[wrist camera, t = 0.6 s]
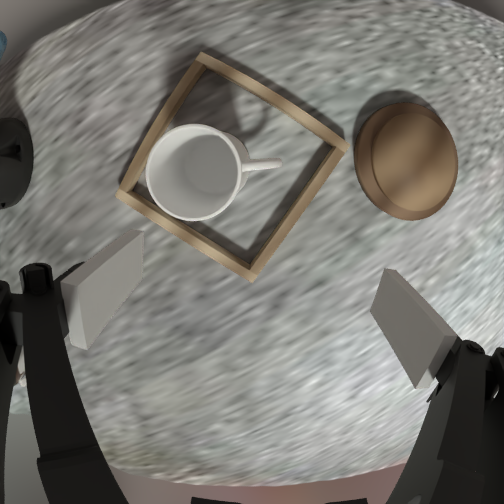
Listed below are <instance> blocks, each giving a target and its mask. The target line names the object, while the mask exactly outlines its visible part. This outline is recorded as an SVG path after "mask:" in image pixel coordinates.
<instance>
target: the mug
mask: <svg viewBox="0 0 504 504" xmlns="http://www.w3.org/2000/svg"><path fill="white" fill-rule="evenodd" d="M281 166H282V160H281V159H280V158H267V159H249V155H248V152H247V150H246V148H245V147H244V145H243V144H242V143H241V142H240V141H239V140H238V139H237V138H236V137H234V136H233V135H231V134H229V133H226V132H222V131H219V130H217V129H215V128H213V127H210V126H207V125H202V124H186V125H182V126H179V127H176V128H174V129H172V130H170V131H168V132H167V133H165V134H164V135H163V136H162V137H161V138H160V139H159V140H158V141H157V142H156V144H155V145H154V146H153V148H152V150H151V152H150V154H149V157H148V160H147V165H146V181H147V186H148V189H149V192H150V194H151V196H152V198H153V199H154V201H155V202H156V203H157V205H158V206H159V207H160V208H161V209H162V210H164V211H165V212H166V213H168V214H169V215H171V216H173V217H175V218H178V219H181V220H186V221H200V220H205V219H208V218H211V217H213V216H215V215H217V214H219V213H220V212H222V211H223V210H224V209H225V208H226V207H227V206H228V205H229V204H230V203H231V202H232V201H233V199H234V198H235V196H236V194H237V193H238V192H239V191H240V190H241V189H242V187H243V186H244V185H245V183H246V181H247V179H248V176H249V172H250V171H251V170H260V169H269V168H277V167H281Z"/></svg>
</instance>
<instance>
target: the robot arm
mask: <svg viewBox="0 0 504 504" xmlns="http://www.w3.org/2000/svg"><path fill="white" fill-rule="evenodd" d="M6 45H7V39H6V36H5V34H4V33H3V32H2V31H0V60H1V58H2V55H3V53H4V51H5V48H6ZM32 168H33V149H32V143H31V138H30V135H29V133H28V130H27V129H26V127H25V125H24V124H23V123H22V122H21V121H19V120H18V119H15V118H1V119H0V209H5V208H8V207H11V206H14V205H15V204H17V203H18V202H19V201H20V200H21V199H22V197H23V196H24V194H25V193H26V191H27V188H28V186H29V183H30V179H31V174H32ZM143 240H144V231H140V230H133V229H130V230H129V231H128V232H126V233H125V234H123V235H122V236H120V237H119V238H118V239H116V240H115V241H113V242H112V243H111V244H109V245H108V246H106V247H105V248H104V249H102V250H101V251H100V252H98V253H97V254H96V255H94V256H93V257H92V258H90V259H89V260H88V261H86V262H81V263H79V264H76V265H74V266H72V267H71V268H70V269H68V271H66V272H64V273H63V275H60V276H59V277H58V278H57V279H55V280H54V281H53V276H52V268H51V266H50V265H48V264H46V263H32V264H29V265H26V266H24V267H23V268H21V269H20V271H19V275H20V281H21V286H22V292H23V294H14V293H11V292H10V287H9V284H8V283H7V282H6V281H1V280H0V504H4V461H5V444H6V433H7V424H8V416H9V409H10V402H11V396H12V391H13V386H14V381H15V376H16V371H17V367H18V362H19V358H20V354H21V350H22V347H23V351H24V364H25V374H26V383H27V391H28V397H29V404H30V410H31V415H32V420H33V425H34V429H35V434H36V438H37V443H38V447H39V451H40V458H37V466H38V471H39V474H40V477H41V481H42V484H43V487H44V490H45V493H46V495H47V498H48V501H49V504H129V503H128V501H127V500H126V498H125V496H124V495H123V493H122V491H121V489H120V487H119V485H118V483H117V482H116V480H115V478H114V476H113V474H112V472H111V470H110V468H109V466H108V464H107V462H106V460H105V458H104V455H103V453H102V451H101V449H100V447H99V444H98V442H97V440H96V437H95V435H94V432H93V430H92V428H91V425H90V422H89V420H88V417H87V415H86V412H85V409H84V406H83V404H82V401H81V398H80V395H79V392H78V389H77V385H76V382H75V379H74V376H73V372H72V369H71V365H70V362H69V358H68V354H67V350H66V346H65V342H64V338H65V337H66V335H67V334H68V333H69V336H70V340H71V345H73V346H76V347H80V348H83V349H86V350H88V349H89V347H90V346H91V345H92V343H93V342H94V341H95V339H96V338H97V336H98V335H99V334H100V332H101V331H102V330H103V328H104V327H105V326H106V325H107V323H108V322H109V321H110V319H111V318H112V317H113V315H114V314H115V313H116V311H117V310H118V309H119V308H120V306H121V305H122V304H123V303H124V301H125V300H126V299H127V297H128V296H129V295H130V294H131V292H132V291H133V290H134V289H135V288H136V286H137V285H138V284H139V283H140V281H141V280H142V279H143ZM370 312H371V314H372V315H373V317H374V319H375V320H376V322H377V324H378V325H379V327H380V328H381V330H382V332H383V333H384V335H385V337H386V338H387V340H388V342H389V344H390V345H391V347H392V349H393V350H394V352H395V354H396V355H397V357H398V359H399V361H400V362H401V364H402V366H403V368H404V369H405V371H406V373H407V375H408V377H409V378H410V380H411V382H412V384H413V386H414V388H415V389H421V388H429V386H430V385H431V383H432V381H433V380H434V378H435V377H436V379H437V380H438V382H439V383H438V385H437V386H436V388H435V389H434V391H433V392H432V394H431V395H430V397H429V398H428V400H427V401H426V402H429V401H430V400H431V402H430V405H429V408H428V411H427V414H426V417H425V419H424V422H423V425H422V428H421V430H420V433H419V435H418V438H417V440H416V443H415V445H414V448H413V450H412V452H411V455H410V457H409V459H408V461H407V463H406V466H405V468H404V470H403V472H402V474H401V476H400V478H399V480H398V482H397V484H396V486H395V488H394V490H393V492H392V494H391V495H390V497H389V499H388V501H387V502H386V504H504V348H502V347H498V348H496V350H495V352H494V354H493V355H492V356H488V355H485V351H484V349H483V348H482V347H481V346H480V345H479V344H477V343H476V342H473V341H470V340H463V341H462V340H461V339H460V337H459V336H458V335H457V334H456V333H455V332H454V331H453V329H452V328H451V327H450V326H449V325H448V324H447V323H446V322H445V321H444V319H443V318H442V317H441V316H440V315H439V314H438V313H437V312H436V311H435V310H434V309H433V308H432V307H431V306H430V304H429V303H428V302H427V301H426V300H425V299H424V298H423V297H422V296H421V295H420V294H419V293H418V292H417V291H416V290H415V289H414V288H413V287H412V286H411V285H410V284H409V283H408V282H407V281H406V280H405V279H404V278H403V277H402V276H401V275H400V274H399V273H398V272H397V271H396V270H392V269H386V268H384V272H383V275H382V278H381V281H380V284H379V287H378V290H377V293H376V296H375V298H374V301H373V304H372V307H371V310H370ZM497 391H498V393H497ZM496 393H497V395H496V397H495V398H494V395H495V394H496ZM475 470H476V472H475ZM191 504H241V503H236V502H225V501H217V500H209V499H203V498H196V497H192V499H191ZM326 504H368V503H367V498H363V499H357V500H349V501H341V502H330V503H326Z"/></svg>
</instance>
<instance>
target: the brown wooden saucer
mask: <svg viewBox="0 0 504 504" xmlns="http://www.w3.org/2000/svg"><path fill="white" fill-rule="evenodd" d="M354 164H355V170H356V175H357V178H358V181H359V183H360V185H361V188H362V190H363V191H364V193H365V194H366V196H367V197H368V198H369V200H370V201H371V202H372V203H373V204H374V205H375V206H377V207H378V208H379V209H381V210H382V211H384V212H386V213H388V214H390V215H391V216H393V217H396V218H398V219H402V220H410V221H414V220H420V219H424V218H427V217H429V216H431V215H433V214H434V213H436V212H437V211H438V210H440V209H441V208H442V207H443V206H444V204H445V203H446V202H447V200H448V199H449V197H450V196H451V194H452V192H453V189H454V187H455V183H456V180H457V174H458V156H457V150H456V146H455V143H454V140H453V138H452V136H451V134H450V132H449V130H448V128H447V127H446V125H445V124H444V123H443V121H442V120H441V119H440V118H439V117H438V116H437V115H436V114H434V113H433V112H432V111H430V110H429V109H427V108H425V107H423V106H421V105H418V104H414V103H406V102H403V103H396V104H392V105H389V106H385V107H383V108H381V109H379V110H377V111H376V112H374V113H373V114H372V115H371V116H370V117H369V118H368V119H367V120H366V121H365V122H364V124H363V126H362V127H361V129H360V131H359V133H358V136H357V139H356V143H355V149H354Z"/></svg>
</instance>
